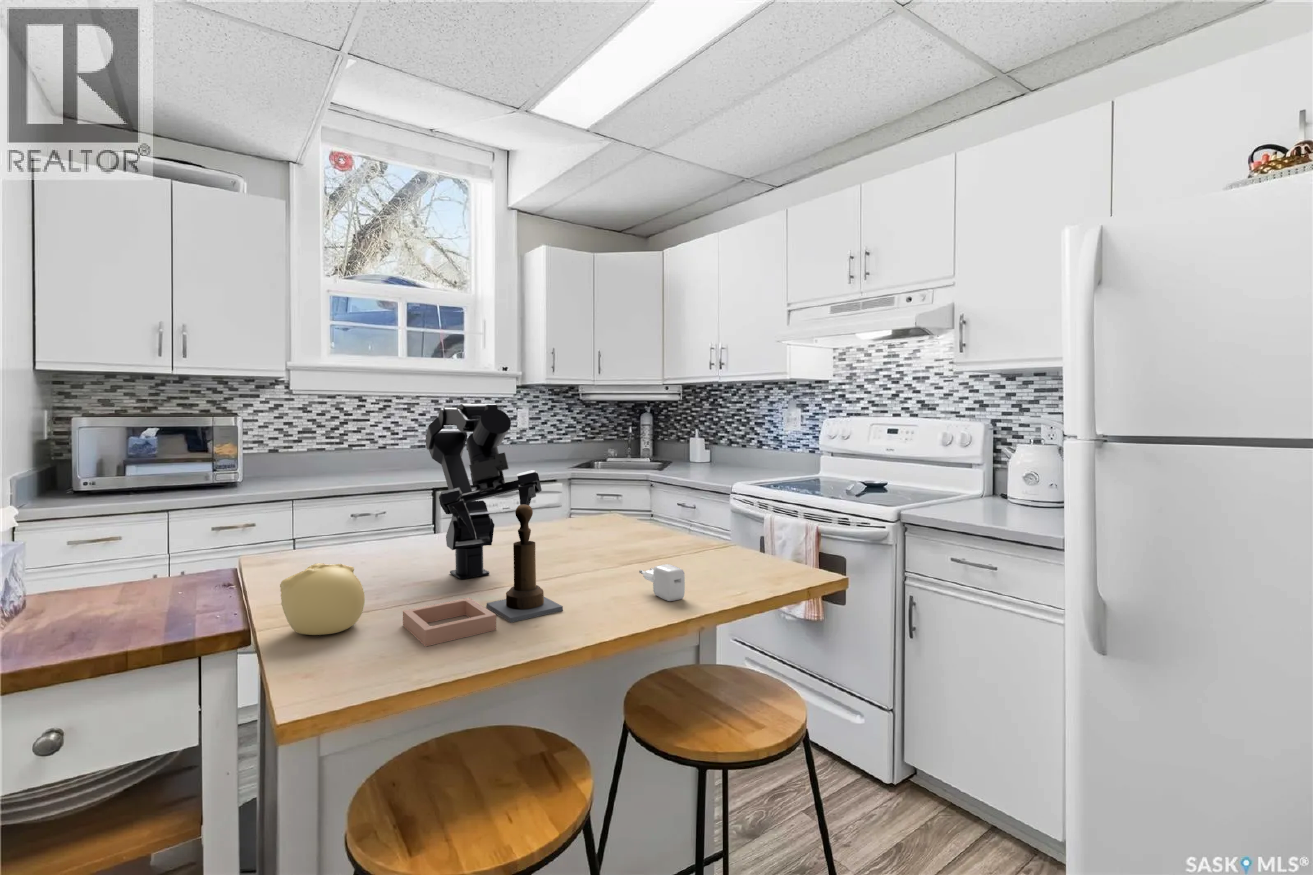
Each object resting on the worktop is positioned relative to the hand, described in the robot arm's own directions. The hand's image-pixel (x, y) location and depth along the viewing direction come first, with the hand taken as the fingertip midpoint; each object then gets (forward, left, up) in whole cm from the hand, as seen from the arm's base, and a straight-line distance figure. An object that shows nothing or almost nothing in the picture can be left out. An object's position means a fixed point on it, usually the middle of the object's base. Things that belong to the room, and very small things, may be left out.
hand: (500, 533), depth 118 cm
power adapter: (+16, +26, -13) cm, 33 cm away
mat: (+8, +1, -13) cm, 15 cm away
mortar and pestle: (+8, +1, -12) cm, 14 cm away
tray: (+9, -13, -13) cm, 20 cm away
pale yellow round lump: (-3, -29, -13) cm, 32 cm away
